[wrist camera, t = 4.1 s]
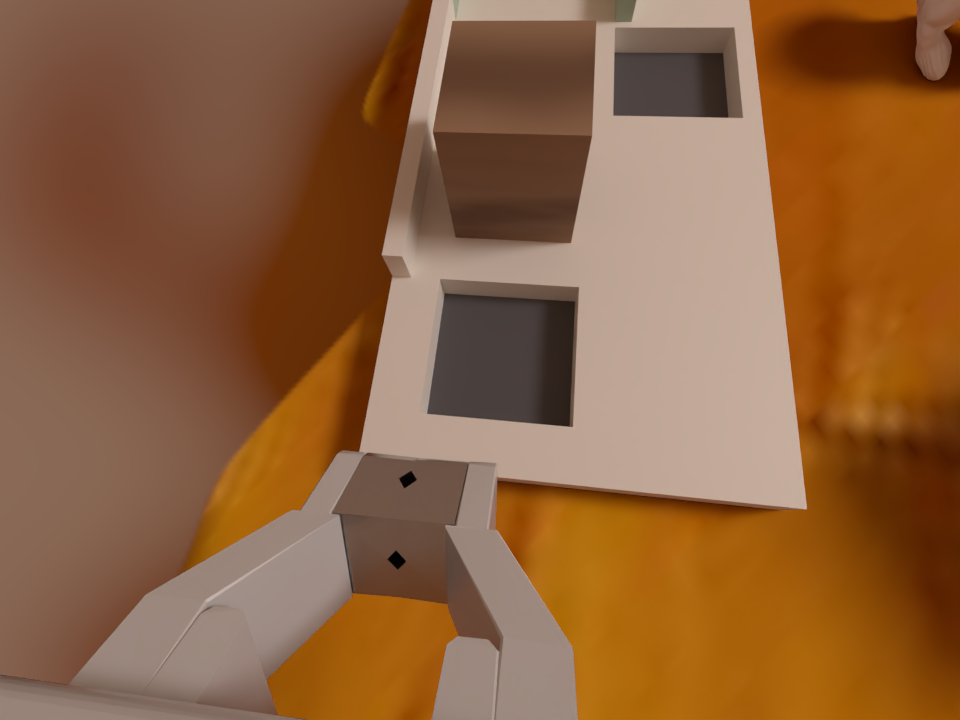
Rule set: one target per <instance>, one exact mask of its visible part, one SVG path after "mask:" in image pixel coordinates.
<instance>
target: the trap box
mask: <svg viewBox="0 0 960 720" xmlns="http://www.w3.org/2000/svg"><path fill="white" fill-rule="evenodd" d="M579 20H596V45H595V73H594V100H593V127H592V139H591V144H590V149H589V154H588V159H587V164H586V170H585V175H584V180H583V185H582V190H581V195H580V200H579V205H578V210H577V215H576V220H575V225H574V230H573V235H572V241H571V243H560V242H539V241H519V240H498V239H478V238H457V237H455V232H454V227H453V223H452V218H451V214H450V209H449V204H448V200H447V195H446V191H445V186H444V182H443V177H442V172H441V168H440V163H439V159H438V154H437V149H436V145H435V140H434V136H433V127H434V121H435V116H436V110H437V105H438V99H439V93H440V88H441V82H442V76H443V71H444V65H445V59H446V54H447V48H448V42H449V37H450V31H451V26H452V21H579ZM382 257H383V259H384V261H385V262H386V264H387V267H388V268H389V270H390V272H391V274H392V281H391V287H390V292H389V297H388V302H387V308H386V313H385V318H384V324H383V329H382V334H381V339H380V345H379V350H378V355H377V361H376V366H375V371H374V377H373V382H372V387H371V392H370V398H369V403H368V408H367V414H366V419H365V424H364V430H363V435H362V440H361V445H360V451H359V452H365V453H368V452H369V453H378V454H387V455H397V456H406V457H415V458H424V459H436V460H449V461H462V462H471V461H472V462H489V463H496V464H497V467H498V475H497V481H507V482H516V483H526V484H535V485H545V486H554V487H564V488H574V489H583V490H593V491H602V492H612V493H621V494H631V495H640V496H650V497H659V498H669V499H678V500H688V501H698V502H707V503H717V504H726V505H736V506H745V507H755V508H764V509H774V510H804V509H807V505H806V496H805V487H804V478H803V470H802V461H801V452H800V443H799V435H798V426H797V417H796V408H795V400H794V391H793V382H792V373H791V365H790V356H789V347H788V338H787V330H786V321H785V312H784V303H783V295H782V286H781V277H780V268H779V260H778V251H777V242H776V233H775V225H774V216H773V207H772V198H771V190H770V181H769V172H768V163H767V155H766V146H765V137H764V128H763V120H762V111H761V102H760V93H759V85H758V76H757V67H756V58H755V50H754V41H753V32H752V23H751V15H750V6H749V0H433V2H432V7H431V12H430V17H429V22H428V27H427V32H426V37H425V42H424V47H423V52H422V57H421V62H420V67H419V72H418V76H417V81H416V86H415V91H414V96H413V101H412V106H411V111H410V116H409V121H408V126H407V131H406V136H405V141H404V146H403V151H402V156H401V161H400V166H399V171H398V176H397V181H396V186H395V191H394V196H393V202H392V206H391V211H390V216H389V222H388V226H387V231H386V236H385V241H384V247H383V252H382Z"/></svg>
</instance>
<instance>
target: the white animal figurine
mask: <svg viewBox="0 0 960 720" xmlns="http://www.w3.org/2000/svg"><path fill="white" fill-rule="evenodd" d="M959 19H960V0H917V23H918V24H917V31H916V38H917V46H916V50H915V58H916V62H917V65H918V66H919V68H920V70H921V71H922V73H923V76H925V77H926V78H927V79H928V80H932V81H935V80H939V79H941V78H942V77H943V76H944V75H945V73H946V71H947V69H948V66H949V63H950V58H951V51H952V47H951V43H950V41H949V39H948V38H947V36H946V34H945V32H944V30H945V29H947V28H949V27H950V26H952V25H953V24H954V23H955V22H956V21H958V20H959Z"/></svg>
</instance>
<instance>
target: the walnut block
mask: <svg viewBox="0 0 960 720" xmlns="http://www.w3.org/2000/svg"><path fill="white" fill-rule="evenodd" d="M595 45H596V20H579V21H452V26H451V31H450V37H449V42H448V48H447V54H446V59H445V65H444V71H443V76H442V82H441V88H440V93H439V99H438V105H437V110H436V116H435V121H434V127H433V136H434V140H435V145H436V149H437V154H438V159H439V163H440V168H441V172H442V177H443V182H444V186H445V191H446V195H447V200H448V204H449V209H450V214H451V218H452V223H453V227H454V232H455V237H457V238H478V239H498V240H519V241H539V242H560V243H571V241H572V235H573V230H574V225H575V220H576V215H577V210H578V205H579V200H580V195H581V190H582V185H583V180H584V175H585V170H586V164H587V159H588V154H589V149H590V144H591V139H592V127H593V100H594V73H595Z"/></svg>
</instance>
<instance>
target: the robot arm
mask: <svg viewBox="0 0 960 720" xmlns="http://www.w3.org/2000/svg"><path fill="white" fill-rule="evenodd" d="M497 475H498V467H497V464H496V463H489V462H472V461H471V462H462V461H449V460H436V459H424V458H415V457H406V456H397V455H387V454H378V453H369V452H368V453H365V452H356V451H346V450H342V451H341V452H339V453H337V454H336V456H335V457H334V459H333V460H332V462H331V463H330V465H329V466H328V468H327V470H326V471H325V473H324V474H323V476H322V477H321V479H320V480H319V482H318V483H317V485H316V487H315V488H314V490H313V491H312V493H311V494H310V496H309V497H308V499H307V500H306V502H305V504H304V505H303V507H302V508H301V510H300V511H297V510H291V511H289V512H288V513H286V514H284V515H282V516H281V517H279V518H277V519H276V520H274V521H272V522H270V523H269V524H267V525H265V526H263V527H262V528H260V529H258V530H257V531H255V532H253V533H251V534H250V535H248V536H246V537H244V538H243V539H241V540H239V541H237V542H236V543H234V544H232V545H231V546H229V547H227V548H225V549H224V550H222V551H220V552H218V553H217V554H215V555H213V556H212V557H210V558H208V559H206V560H205V561H203V562H201V563H199V564H198V565H196V566H194V567H193V568H191V569H189V570H187V571H186V572H184V573H182V574H180V575H179V576H177V577H175V578H174V579H172V580H170V581H168V582H167V583H165V584H163V585H161V586H160V587H158V588H156V589H155V590H153V591H151V592H149V593H148V594H146V595H145V596H144V597H143V598H142V600H141V601H140V602H139V603H138V604H137V605H136V606H135V608H134V609H133V610H132V611H131V612H130V613H129V615H128V616H127V617H126V618H125V619H124V620H123V622H122V623H121V624H120V625H119V626H118V627H117V628H116V630H115V631H114V632H113V633H112V634H111V636H109V638H108V639H107V640H106V641H105V642H104V643H103V645H102V646H101V647H100V648H99V649H98V650H97V652H96V653H95V654H94V655H93V656H92V657H91V659H90V660H89V661H88V662H87V663H86V664H85V665H84V667H83V668H82V669H81V670H80V671H79V672H78V674H77V675H76V676H75V677H74V678H73V679H72V680H71V682H70V683H69V684H68V685H67V684H60V683H53V682H46V681H39V680H32V679H25V678H18V677H11V676H5V675H0V720H307V719H300V718H293V717H286V716H279V715H277V711H276V708H275V705H274V702H273V699H272V696H271V693H270V690H269V687H268V684H267V679H268V678H269V677H270V676H271V675H272V674H273V673H274V672H275V671H276V670H277V669H278V668H279V667H280V666H281V665H282V664H283V663H284V662H285V661H286V660H287V659H288V658H289V657H290V656H291V655H292V654H293V653H294V652H295V651H297V650H298V649H299V648H300V647H301V646H302V645H303V644H304V643H305V642H306V641H307V640H308V639H309V638H310V637H311V636H312V635H313V634H314V633H315V632H316V631H317V630H318V629H319V628H320V627H321V626H322V625H323V624H324V623H325V622H326V621H327V620H329V619H330V618H331V617H332V616H333V615H334V614H335V613H336V612H337V611H338V610H339V609H340V608H341V607H342V606H343V605H344V604H345V603H346V602H347V601H348V600H349V599H350V598H351V597H352V596H353V595H352V593H357V594H369V595H380V596H392V597H402V598H409V599H416V600H423V601H430V602H436V603H443V604H448V609H449V611H450V614H451V617H452V619H453V622H454V625H455V628H456V630H457V633H458V636H457V637H456V638H454V639H453V640H452V641H451V642H449V643H448V644H447V646H446V651H445V656H444V661H443V666H442V671H441V676H440V681H439V686H438V691H437V696H436V701H435V706H434V711H433V716H432V720H578V717H577V702H576V686H575V671H574V656H573V647H572V646H571V644H570V643H569V641H568V640H567V638H566V636H565V635H564V633H563V632H562V630H561V629H560V627H559V626H558V624H557V622H556V621H555V619H554V618H553V616H552V615H551V613H550V612H549V610H548V608H547V607H546V605H545V604H544V602H543V601H542V599H541V598H540V596H539V594H538V593H537V591H536V590H535V588H534V587H533V585H532V584H531V582H530V580H529V579H528V577H527V576H526V574H525V573H524V571H523V570H522V568H521V566H520V565H519V563H518V562H517V560H516V559H515V557H514V556H513V554H512V552H511V551H510V549H509V548H508V546H507V545H506V543H505V542H504V540H503V538H502V537H501V535H500V534H499V532H498V531H497V530H495V521H496V500H497Z"/></svg>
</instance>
